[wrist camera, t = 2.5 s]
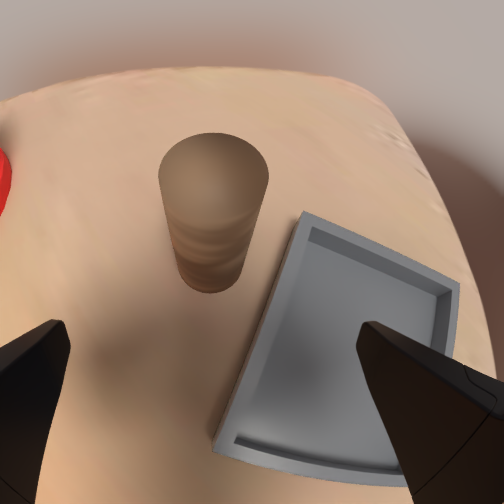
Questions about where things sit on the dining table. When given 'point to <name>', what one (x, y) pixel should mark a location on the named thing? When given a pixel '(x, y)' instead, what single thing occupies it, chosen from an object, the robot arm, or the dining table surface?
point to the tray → (330, 356)
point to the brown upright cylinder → (212, 206)
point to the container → (4, 179)
